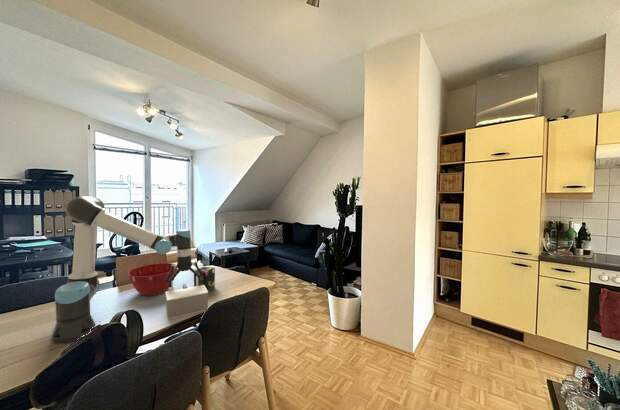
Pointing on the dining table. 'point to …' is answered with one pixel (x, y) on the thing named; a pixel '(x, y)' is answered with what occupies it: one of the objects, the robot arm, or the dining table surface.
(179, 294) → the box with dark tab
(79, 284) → the robot arm
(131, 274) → the mixing bowl
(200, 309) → the open cabinet
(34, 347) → the dining table surface
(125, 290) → the dining table surface
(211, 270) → the tampon box
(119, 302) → the dining table surface
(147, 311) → the dining table surface
